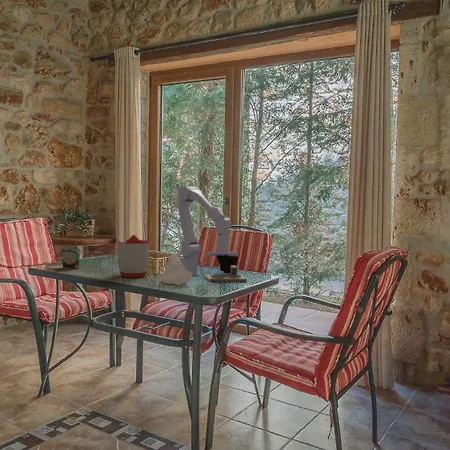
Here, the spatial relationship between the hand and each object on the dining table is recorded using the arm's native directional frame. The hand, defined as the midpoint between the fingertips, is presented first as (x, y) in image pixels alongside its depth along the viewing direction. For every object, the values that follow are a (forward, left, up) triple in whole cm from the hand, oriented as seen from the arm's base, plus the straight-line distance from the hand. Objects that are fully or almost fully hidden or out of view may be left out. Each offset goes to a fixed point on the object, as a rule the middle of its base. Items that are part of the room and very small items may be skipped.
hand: (222, 271), depth 243 cm
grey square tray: (+2, 0, -4) cm, 4 cm away
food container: (-71, +37, -4) cm, 80 cm away
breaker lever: (+6, 0, -3) cm, 6 cm away
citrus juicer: (-42, +11, -4) cm, 44 cm away
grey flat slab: (+2, 0, -4) cm, 4 cm away
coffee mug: (+9, +19, -4) cm, 21 cm away
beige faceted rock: (-23, -8, -4) cm, 25 cm away
